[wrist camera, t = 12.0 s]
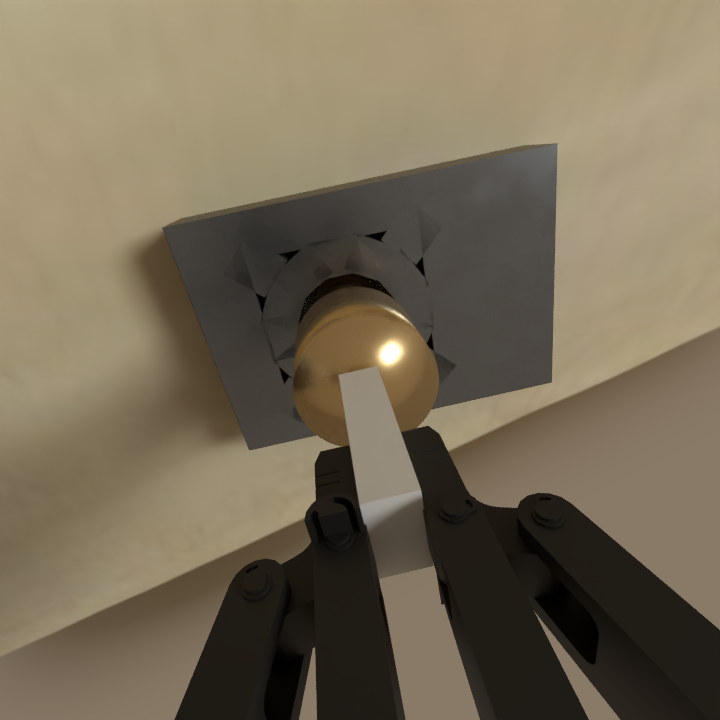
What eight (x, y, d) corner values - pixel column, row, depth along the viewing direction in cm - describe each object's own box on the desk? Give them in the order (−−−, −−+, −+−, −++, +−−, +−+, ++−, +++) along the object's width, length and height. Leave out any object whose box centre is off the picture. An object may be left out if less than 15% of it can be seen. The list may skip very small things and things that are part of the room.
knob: (310, 355, 28) (312, 461, 18) (287, 269, 25) (275, 339, 16) (397, 336, 28) (445, 431, 18) (382, 248, 26) (430, 304, 16)
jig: (255, 419, 30) (249, 450, 27) (181, 218, 24) (162, 227, 20) (526, 359, 30) (551, 382, 27) (524, 145, 24) (557, 143, 21)
